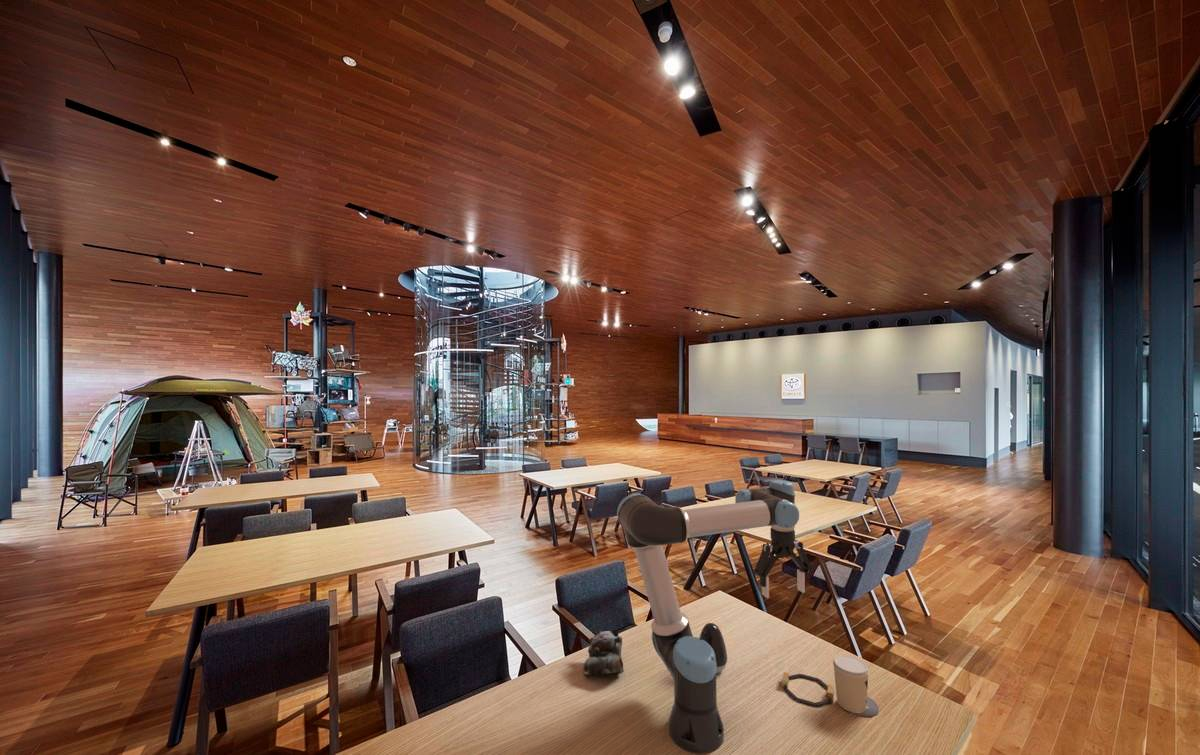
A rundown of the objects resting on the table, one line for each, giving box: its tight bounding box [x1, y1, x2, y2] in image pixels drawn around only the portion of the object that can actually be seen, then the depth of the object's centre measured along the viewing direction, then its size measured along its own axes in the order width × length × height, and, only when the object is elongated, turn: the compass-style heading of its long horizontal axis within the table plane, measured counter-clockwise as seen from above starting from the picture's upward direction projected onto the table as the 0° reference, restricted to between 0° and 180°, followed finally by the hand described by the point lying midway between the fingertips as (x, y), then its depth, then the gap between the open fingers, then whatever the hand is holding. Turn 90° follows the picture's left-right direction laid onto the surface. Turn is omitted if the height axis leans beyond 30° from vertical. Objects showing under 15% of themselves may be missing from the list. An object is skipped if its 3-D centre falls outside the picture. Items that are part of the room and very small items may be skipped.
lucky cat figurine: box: [582, 628, 625, 676], centre depth 157 cm, size 15×12×14 cm
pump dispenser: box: [698, 622, 728, 674], centre depth 156 cm, size 10×10×15 cm
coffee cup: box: [832, 654, 870, 714], centre depth 137 cm, size 9×9×12 cm
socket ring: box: [781, 671, 835, 708], centre depth 144 cm, size 14×14×2 cm
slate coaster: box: [851, 695, 880, 718], centre depth 137 cm, size 10×10×1 cm
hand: (783, 593), depth 150 cm, fingers open, 13 cm apart
